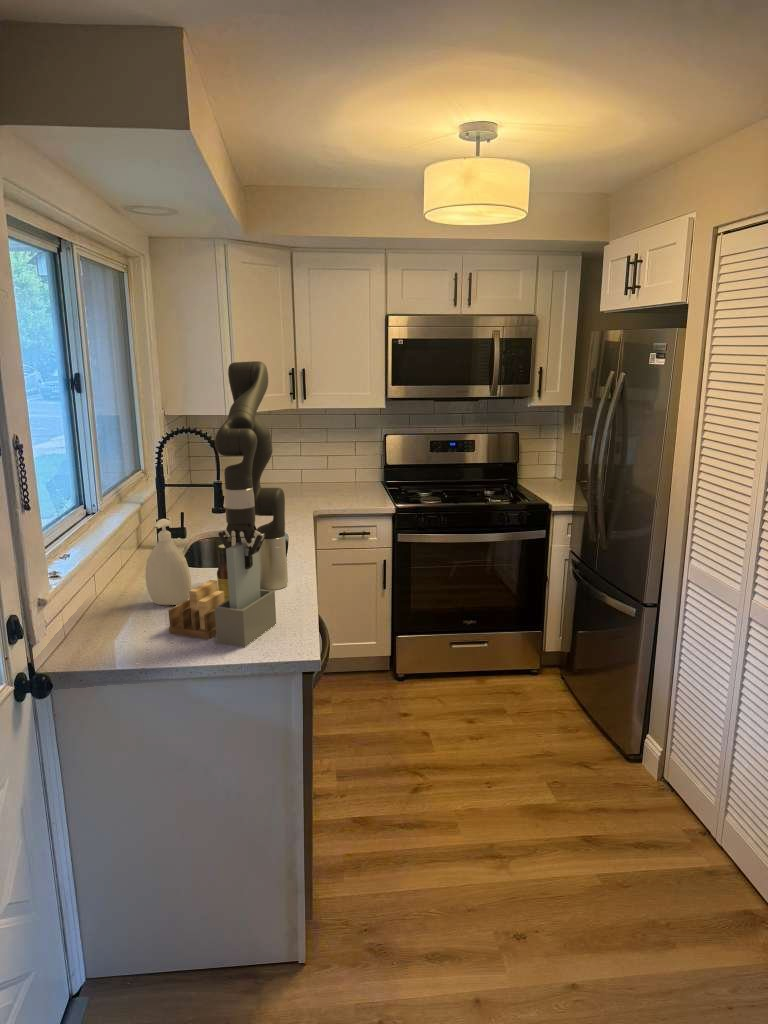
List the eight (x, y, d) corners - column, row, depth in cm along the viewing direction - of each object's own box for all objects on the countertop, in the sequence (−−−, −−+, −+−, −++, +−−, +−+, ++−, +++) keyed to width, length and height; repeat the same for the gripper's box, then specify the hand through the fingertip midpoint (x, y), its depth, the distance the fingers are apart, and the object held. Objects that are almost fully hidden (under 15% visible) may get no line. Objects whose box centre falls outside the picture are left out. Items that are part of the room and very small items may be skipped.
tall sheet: (254, 606, 186) (250, 537, 182) (261, 607, 185) (257, 538, 181) (230, 622, 175) (225, 549, 171) (237, 622, 174) (233, 549, 170)
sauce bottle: (232, 603, 205) (228, 541, 201) (245, 607, 201) (241, 544, 197) (214, 609, 200) (210, 545, 196) (227, 613, 197) (223, 549, 192)
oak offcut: (212, 612, 192) (210, 579, 190) (219, 613, 191) (217, 580, 189) (191, 625, 182) (189, 590, 180) (198, 626, 182) (195, 591, 180)
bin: (249, 620, 191) (247, 587, 188) (276, 624, 188) (274, 590, 186) (216, 643, 175) (214, 607, 173) (245, 647, 172) (242, 610, 170)
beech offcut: (219, 617, 188) (217, 590, 186) (225, 618, 187) (223, 591, 186) (200, 628, 180) (198, 601, 178) (207, 629, 179) (205, 601, 177)
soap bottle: (140, 608, 202) (132, 521, 196) (153, 599, 210) (146, 516, 204) (185, 610, 200) (178, 523, 194) (196, 601, 208) (190, 517, 202)
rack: (199, 616, 195) (198, 593, 193) (237, 621, 190) (236, 598, 189) (169, 633, 182) (167, 609, 180) (209, 639, 178) (207, 615, 176)
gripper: (270, 503, 175) (273, 566, 179) (225, 500, 180) (229, 562, 183) (255, 509, 168) (259, 574, 172) (209, 506, 173) (213, 569, 177)
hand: (243, 567), depth 178 cm, fingers closed on tall sheet, 2 cm apart
